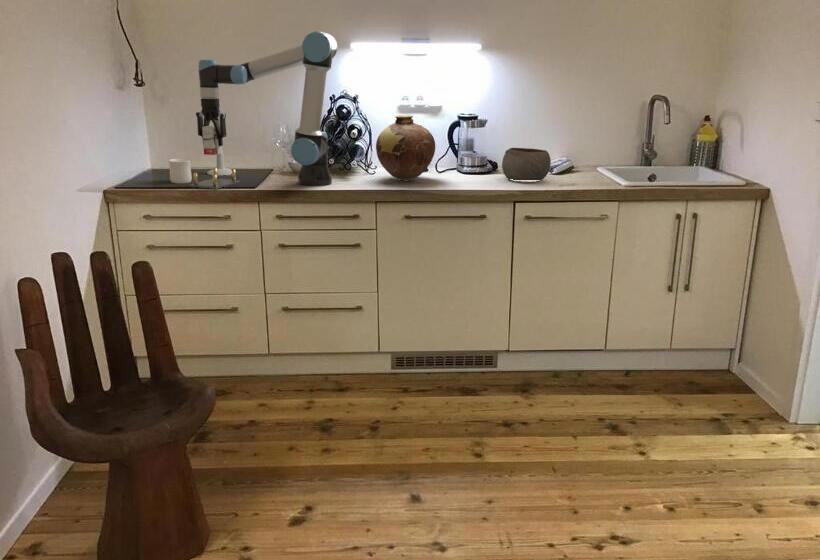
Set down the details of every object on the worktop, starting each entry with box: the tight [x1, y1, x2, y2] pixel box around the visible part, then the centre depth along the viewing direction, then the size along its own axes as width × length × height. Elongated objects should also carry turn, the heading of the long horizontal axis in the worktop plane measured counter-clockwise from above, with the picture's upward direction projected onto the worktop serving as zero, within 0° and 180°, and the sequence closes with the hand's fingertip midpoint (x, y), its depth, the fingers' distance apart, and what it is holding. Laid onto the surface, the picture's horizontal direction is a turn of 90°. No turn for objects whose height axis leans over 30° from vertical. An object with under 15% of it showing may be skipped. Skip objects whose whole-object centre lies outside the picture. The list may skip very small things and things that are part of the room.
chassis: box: [188, 167, 241, 190], centre depth 304 cm, size 14×18×6 cm
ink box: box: [202, 124, 224, 156], centre depth 299 cm, size 9×5×12 cm, turn 168°
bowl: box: [501, 147, 552, 181], centre depth 331 cm, size 23×23×15 cm
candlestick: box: [206, 116, 232, 177], centre depth 329 cm, size 13×13×30 cm
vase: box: [375, 114, 436, 181], centre depth 321 cm, size 28×27×30 cm
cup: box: [168, 157, 193, 184], centre depth 309 cm, size 10×10×10 cm
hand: (213, 153), depth 301 cm, fingers closed on ink box, 5 cm apart
